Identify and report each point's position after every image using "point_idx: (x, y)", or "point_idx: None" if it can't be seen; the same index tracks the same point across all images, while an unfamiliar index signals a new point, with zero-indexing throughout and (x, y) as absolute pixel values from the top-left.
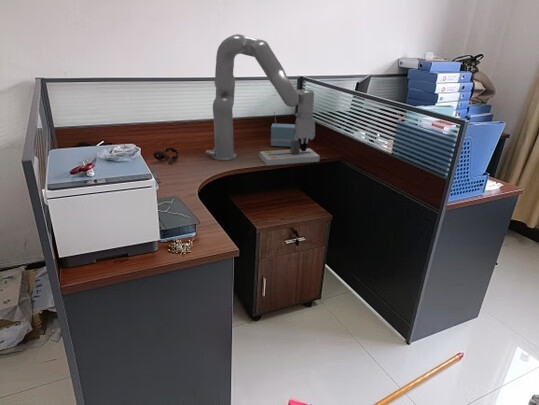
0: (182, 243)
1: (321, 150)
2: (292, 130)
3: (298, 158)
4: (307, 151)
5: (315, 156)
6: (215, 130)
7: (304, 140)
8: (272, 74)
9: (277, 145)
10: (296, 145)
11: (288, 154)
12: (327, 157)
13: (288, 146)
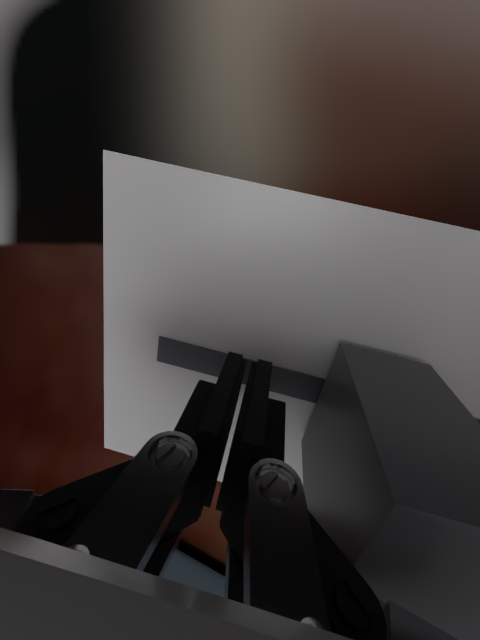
0: None
1: (11, 418)
2: None
3: (448, 224)
4: (173, 382)
5: (170, 165)
6: None
7: (171, 543)
8: None
9: None
10: (456, 460)
11: (469, 403)
12: (13, 248)
13: (212, 569)
